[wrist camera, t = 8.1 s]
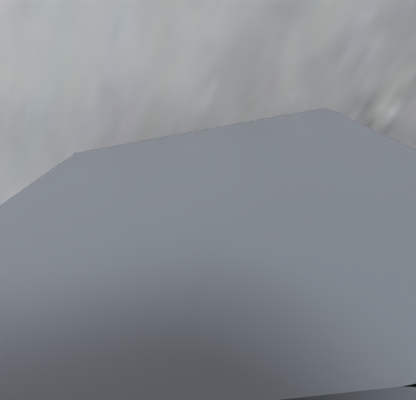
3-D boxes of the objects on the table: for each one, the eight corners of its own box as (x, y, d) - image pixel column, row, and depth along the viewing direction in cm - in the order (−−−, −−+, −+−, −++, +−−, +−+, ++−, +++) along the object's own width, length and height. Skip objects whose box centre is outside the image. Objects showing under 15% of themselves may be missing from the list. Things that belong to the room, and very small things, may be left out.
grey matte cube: (326, 107, 10) (825, 339, 2) (336, 314, 13) (544, 755, 5) (74, 152, 11) (-380, 470, 2) (139, 339, 14) (25, 764, 5)
